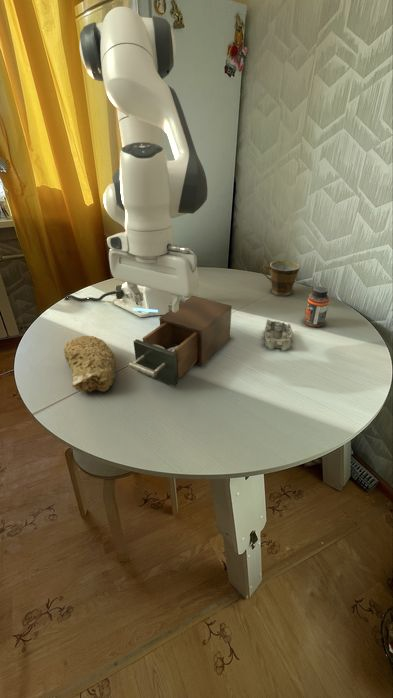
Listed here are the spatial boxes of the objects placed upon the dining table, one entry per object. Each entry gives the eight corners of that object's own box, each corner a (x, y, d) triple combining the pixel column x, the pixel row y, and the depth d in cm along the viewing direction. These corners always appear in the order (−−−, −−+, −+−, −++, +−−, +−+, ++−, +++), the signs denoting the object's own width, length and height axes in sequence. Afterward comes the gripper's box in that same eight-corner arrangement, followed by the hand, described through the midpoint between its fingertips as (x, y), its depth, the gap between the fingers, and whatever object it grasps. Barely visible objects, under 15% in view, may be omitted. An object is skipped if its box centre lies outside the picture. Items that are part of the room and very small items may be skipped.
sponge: (121, 394, 83) (117, 337, 97) (110, 374, 77) (108, 316, 91) (66, 408, 83) (71, 348, 96) (51, 388, 77) (58, 328, 91)
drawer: (163, 398, 79) (160, 366, 74) (124, 381, 84) (119, 350, 79) (206, 356, 92) (207, 327, 87) (171, 344, 97) (169, 315, 92)
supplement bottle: (300, 319, 110) (306, 285, 103) (317, 317, 111) (324, 283, 104) (309, 329, 105) (316, 294, 98) (327, 326, 106) (335, 291, 100)
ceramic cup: (295, 287, 130) (299, 261, 124) (295, 299, 122) (300, 271, 116) (260, 284, 132) (262, 258, 127) (257, 295, 124) (260, 268, 119)
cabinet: (201, 366, 90) (201, 330, 84) (162, 352, 95) (159, 317, 90) (230, 338, 101) (231, 305, 95) (192, 327, 106) (192, 295, 100)
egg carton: (290, 352, 95) (292, 339, 92) (261, 348, 96) (263, 335, 94) (291, 332, 103) (293, 320, 101) (265, 329, 105) (267, 317, 103)
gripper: (205, 244, 65) (205, 311, 73) (121, 230, 75) (129, 291, 82) (186, 253, 61) (188, 323, 69) (100, 237, 70) (110, 301, 78)
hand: (155, 305), depth 75 cm, fingers open, 8 cm apart
